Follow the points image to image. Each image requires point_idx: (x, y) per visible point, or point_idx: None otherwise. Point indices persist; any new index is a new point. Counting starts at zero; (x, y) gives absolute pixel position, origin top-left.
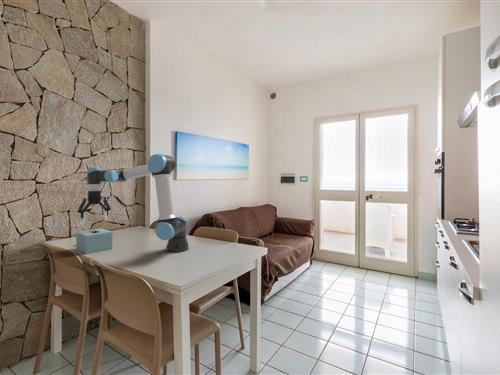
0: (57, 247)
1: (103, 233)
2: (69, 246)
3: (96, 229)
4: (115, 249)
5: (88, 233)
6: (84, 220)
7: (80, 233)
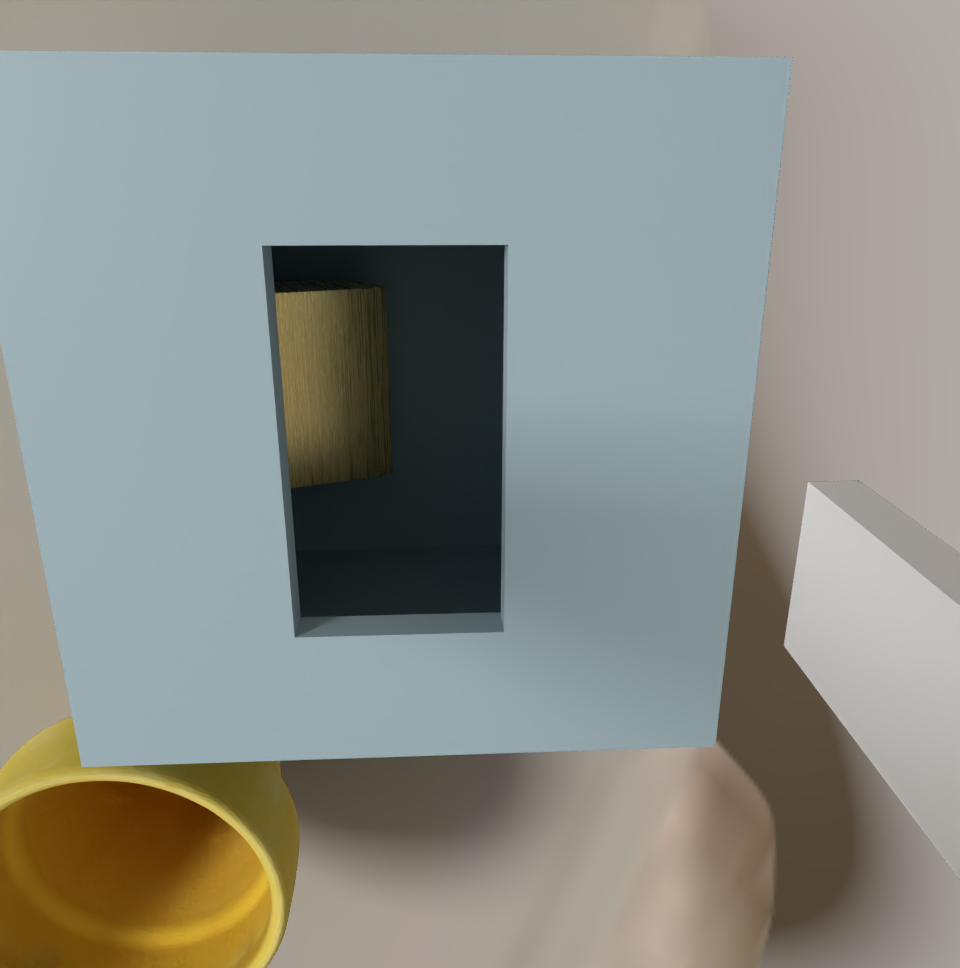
0: (729, 860)
1: (264, 57)
2: (600, 809)
3: (235, 722)
4: (113, 10)
5: (614, 333)
6: (912, 535)
7: (741, 504)
